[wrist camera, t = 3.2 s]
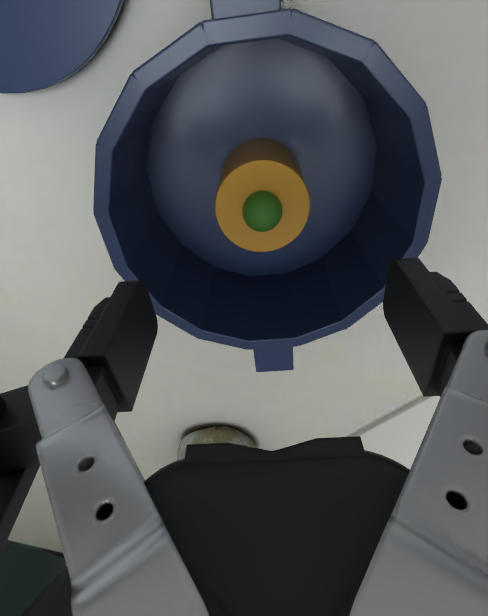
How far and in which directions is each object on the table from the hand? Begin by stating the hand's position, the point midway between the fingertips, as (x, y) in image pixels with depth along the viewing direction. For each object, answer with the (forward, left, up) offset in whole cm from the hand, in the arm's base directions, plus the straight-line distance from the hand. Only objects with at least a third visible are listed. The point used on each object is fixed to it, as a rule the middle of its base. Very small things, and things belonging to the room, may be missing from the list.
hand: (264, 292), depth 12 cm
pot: (0, 0, -13) cm, 13 cm away
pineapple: (0, 0, -12) cm, 12 cm away
